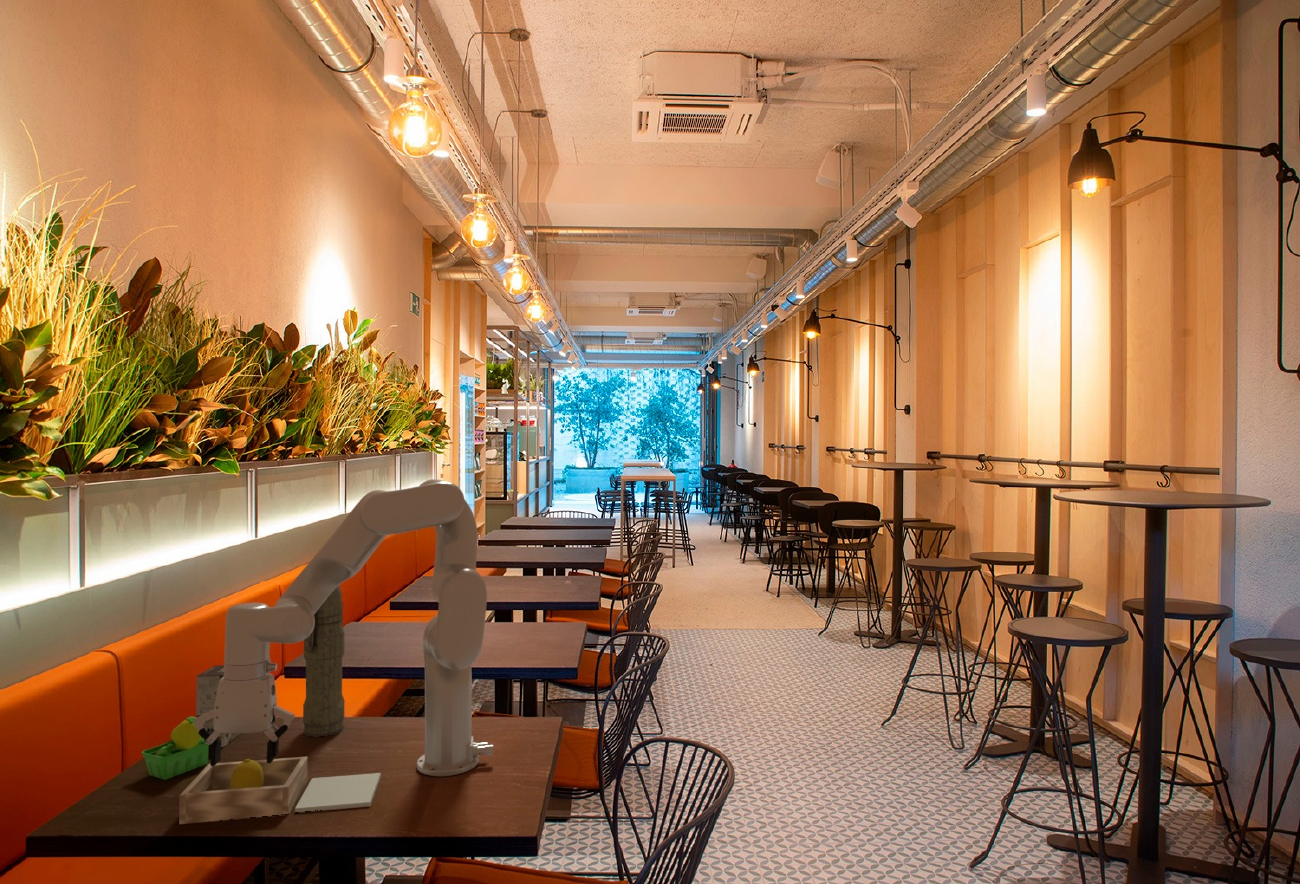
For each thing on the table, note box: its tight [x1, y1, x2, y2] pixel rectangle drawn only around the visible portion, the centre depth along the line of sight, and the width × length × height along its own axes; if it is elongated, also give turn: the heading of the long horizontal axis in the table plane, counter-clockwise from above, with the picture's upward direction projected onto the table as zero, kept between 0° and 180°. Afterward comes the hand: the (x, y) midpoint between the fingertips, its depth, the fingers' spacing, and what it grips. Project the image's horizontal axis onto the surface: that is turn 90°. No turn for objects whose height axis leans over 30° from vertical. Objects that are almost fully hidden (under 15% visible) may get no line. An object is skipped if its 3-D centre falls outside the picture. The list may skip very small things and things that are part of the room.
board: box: [294, 772, 382, 813], centre depth 146 cm, size 13×13×1 cm
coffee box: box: [195, 664, 241, 748], centre depth 174 cm, size 9×6×16 cm
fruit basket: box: [141, 716, 209, 781], centre depth 157 cm, size 11×9×11 cm
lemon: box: [230, 758, 264, 789], centre depth 143 cm, size 6×6×8 cm
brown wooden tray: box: [178, 756, 309, 825], centre depth 143 cm, size 18×14×5 cm
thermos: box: [302, 585, 346, 738], centre depth 180 cm, size 9×12×35 cm
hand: (243, 761), depth 143 cm, fingers open, 9 cm apart
